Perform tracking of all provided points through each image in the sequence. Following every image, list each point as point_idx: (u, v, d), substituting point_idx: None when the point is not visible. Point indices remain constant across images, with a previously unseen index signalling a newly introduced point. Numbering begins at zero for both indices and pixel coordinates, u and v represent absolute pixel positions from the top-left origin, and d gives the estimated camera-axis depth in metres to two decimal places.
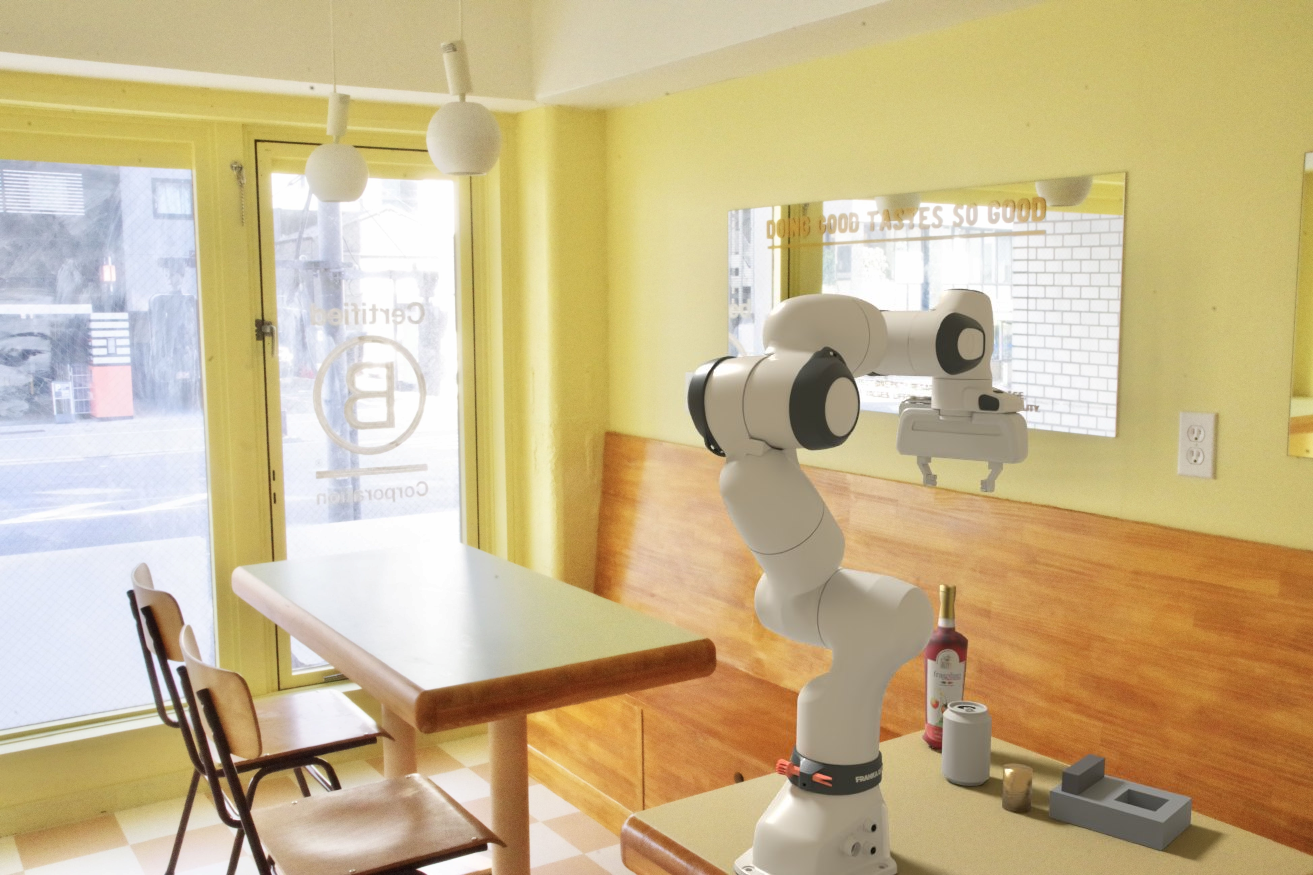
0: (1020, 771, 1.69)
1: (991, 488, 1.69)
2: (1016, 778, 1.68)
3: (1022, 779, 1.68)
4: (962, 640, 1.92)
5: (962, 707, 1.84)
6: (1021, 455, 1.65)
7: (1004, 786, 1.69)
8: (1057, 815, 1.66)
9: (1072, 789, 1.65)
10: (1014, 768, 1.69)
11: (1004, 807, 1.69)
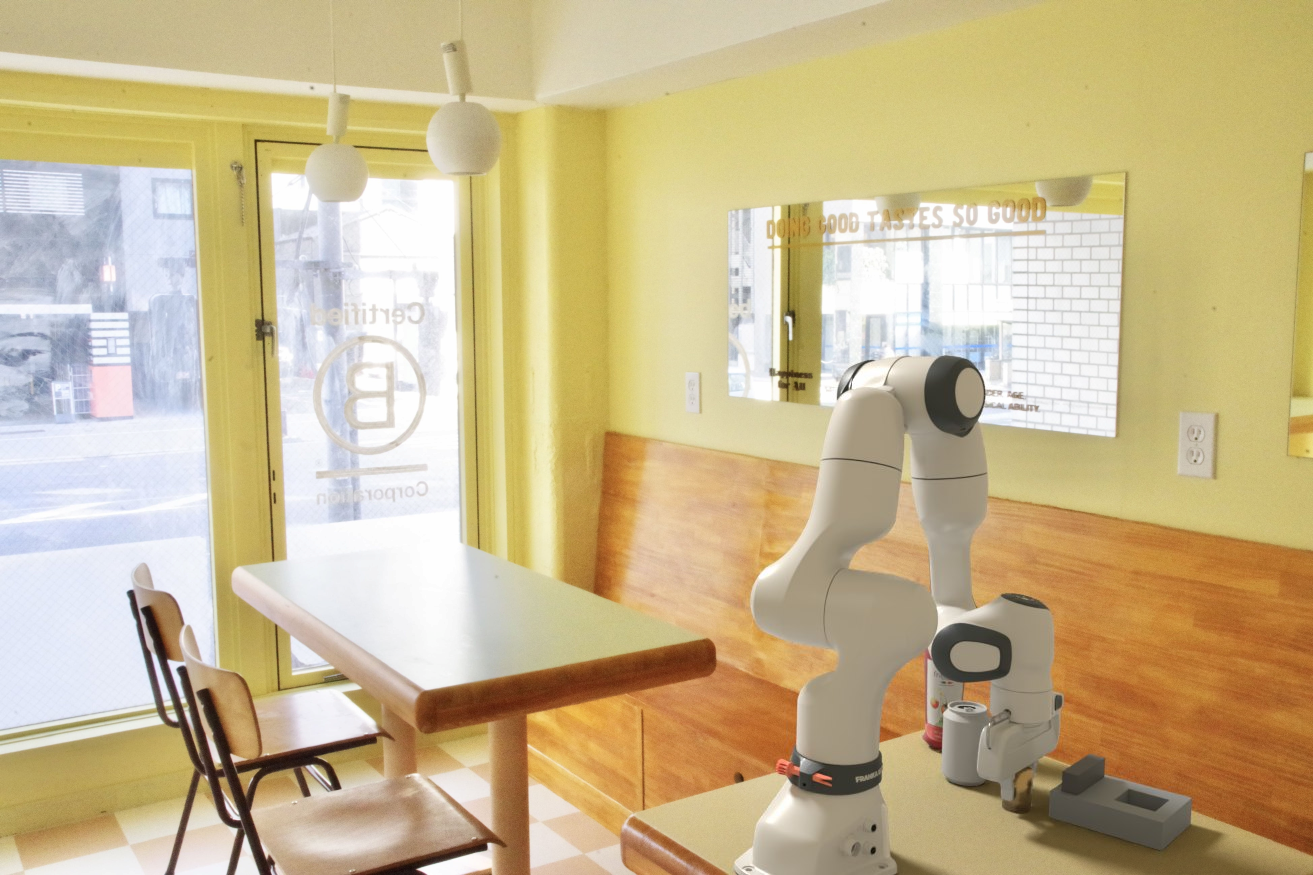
0: (1020, 771, 1.69)
1: None
2: (1016, 778, 1.68)
3: (1022, 779, 1.68)
4: None
5: (962, 707, 1.84)
6: None
7: None
8: (1057, 815, 1.66)
9: (1072, 789, 1.65)
10: None
11: (1004, 807, 1.69)
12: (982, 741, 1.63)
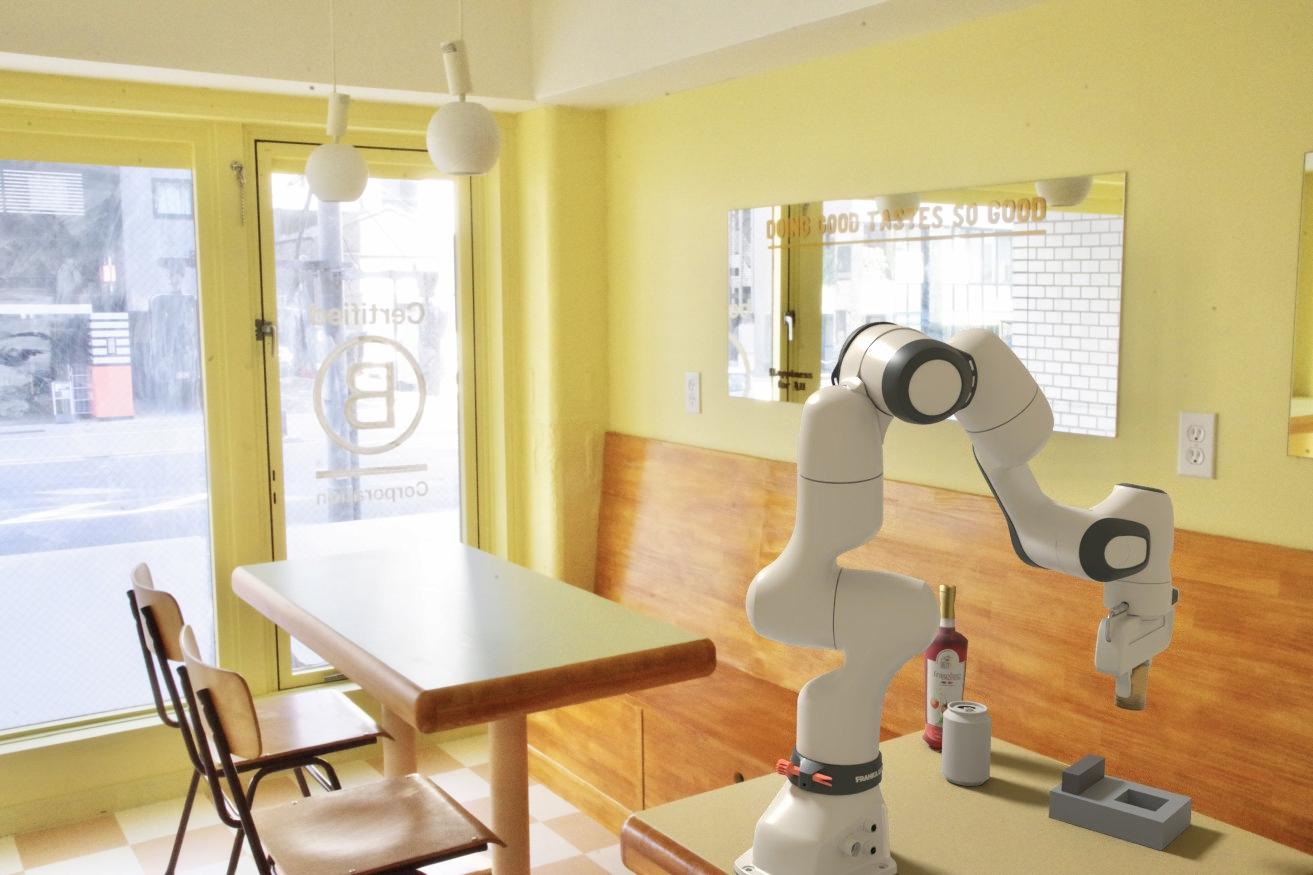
0: (1135, 667, 1.61)
1: None
2: (1131, 674, 1.61)
3: (1138, 674, 1.60)
4: (962, 640, 1.92)
5: (962, 707, 1.84)
6: None
7: None
8: (1057, 815, 1.66)
9: (1072, 789, 1.65)
10: None
11: (1118, 705, 1.62)
12: (1100, 634, 1.56)
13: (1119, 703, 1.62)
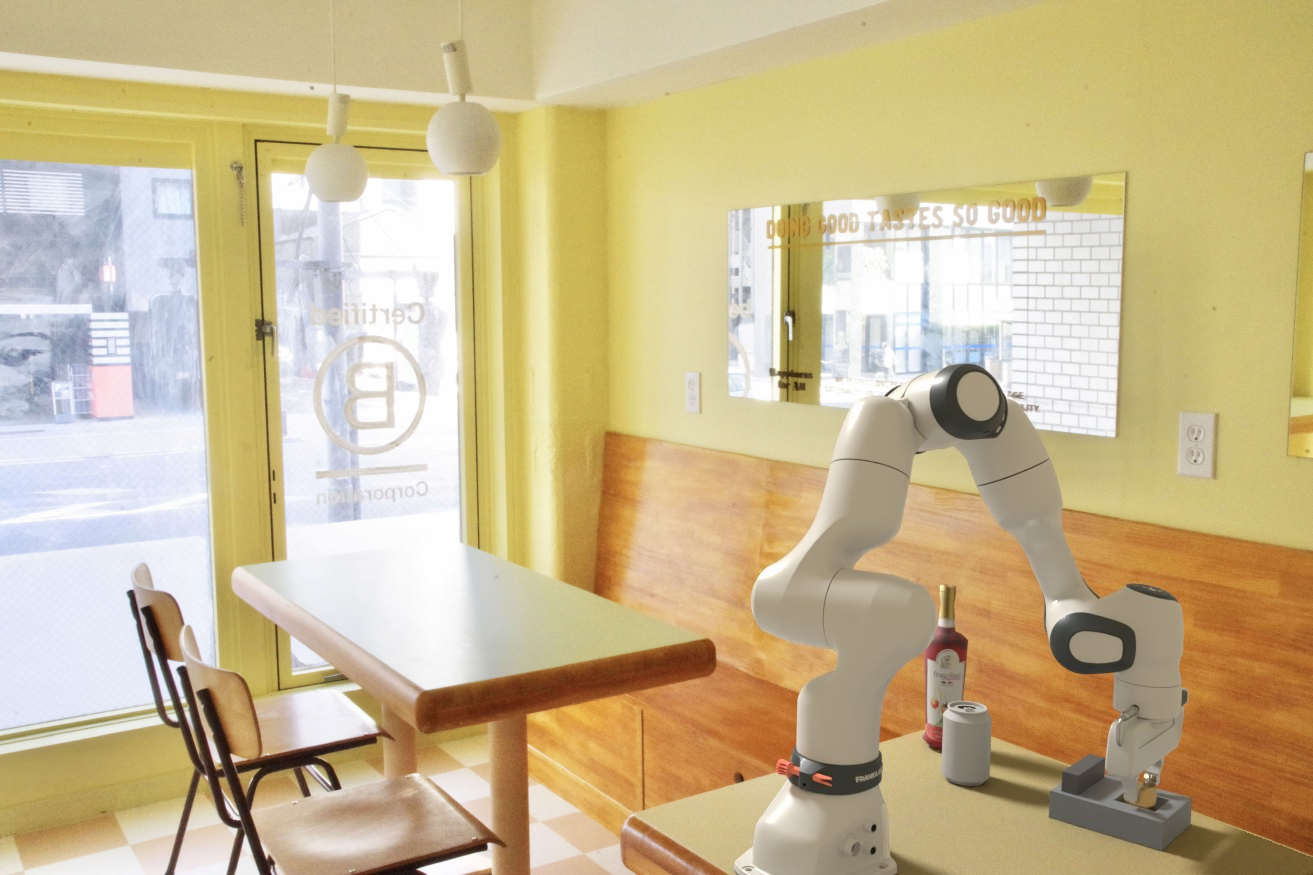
0: (1144, 789, 1.62)
1: None
2: (1140, 797, 1.61)
3: (1147, 798, 1.61)
4: (962, 640, 1.92)
5: (962, 707, 1.84)
6: None
7: None
8: (1057, 815, 1.66)
9: (1072, 789, 1.65)
10: None
11: None
12: (1111, 738, 1.56)
13: None
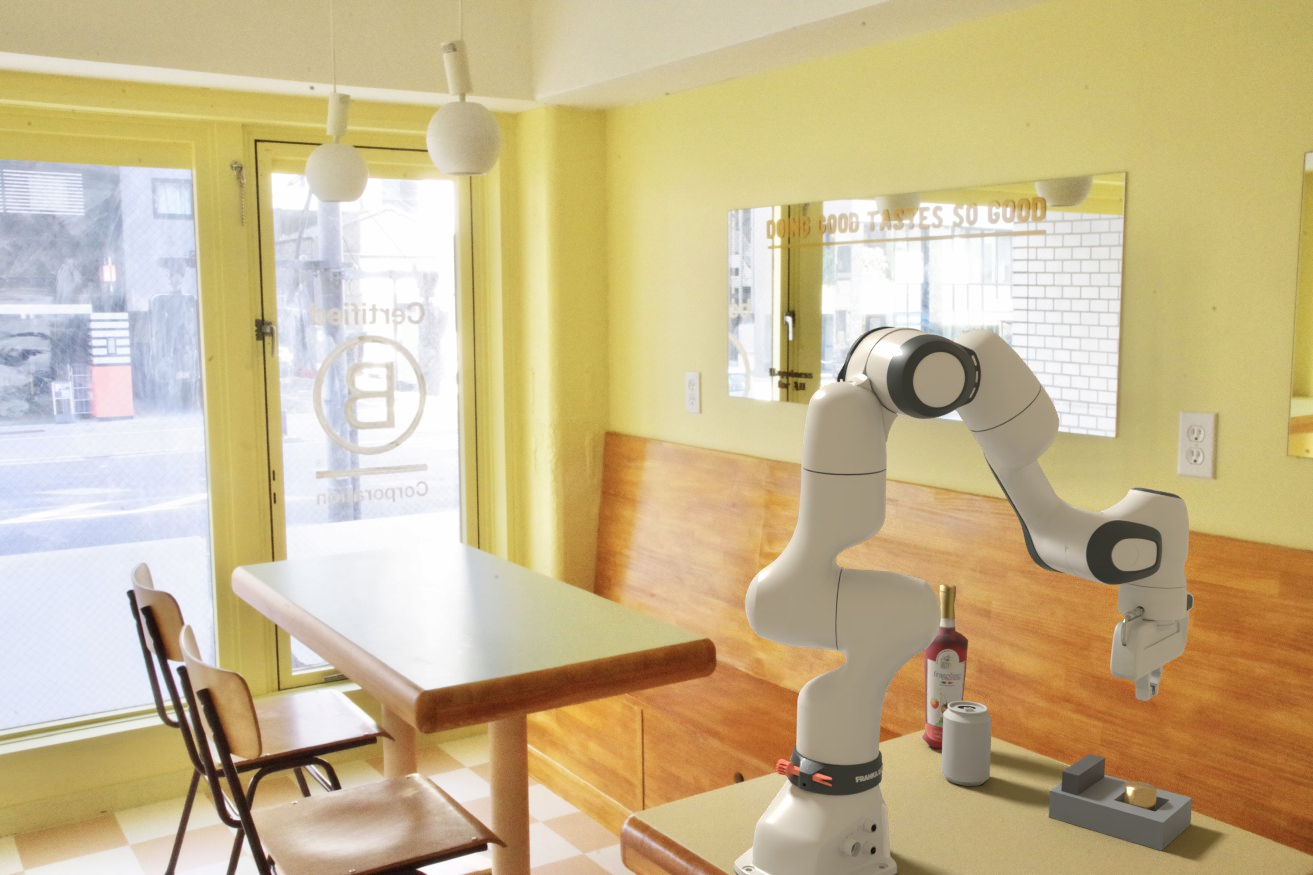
0: (1144, 789, 1.62)
1: None
2: (1140, 797, 1.61)
3: (1147, 797, 1.61)
4: (962, 640, 1.92)
5: (962, 707, 1.84)
6: None
7: None
8: (1057, 815, 1.66)
9: (1072, 789, 1.65)
10: (1137, 786, 1.63)
11: None
12: (1116, 638, 1.55)
13: None
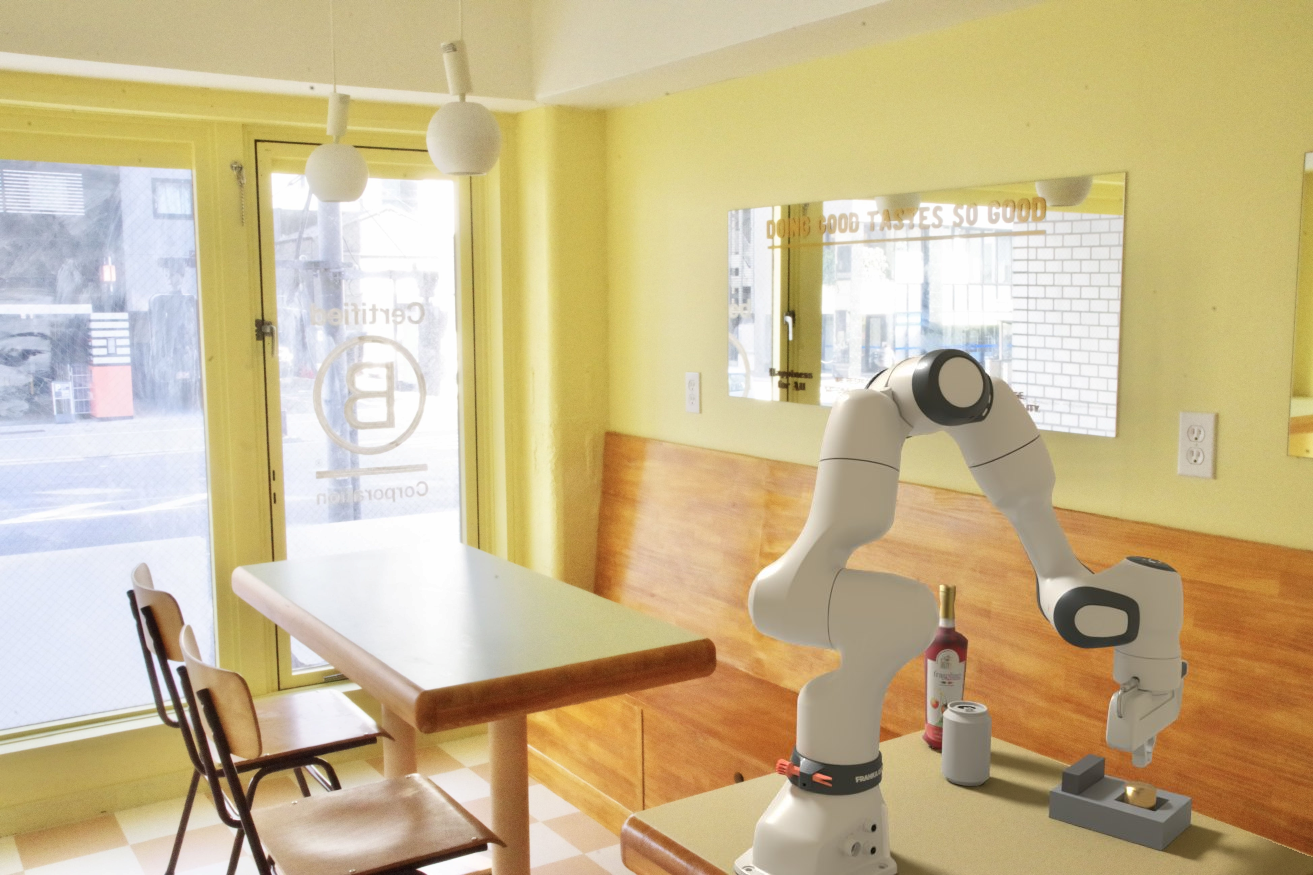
0: (1144, 789, 1.62)
1: None
2: (1140, 797, 1.61)
3: (1147, 797, 1.61)
4: (962, 640, 1.92)
5: (962, 707, 1.84)
6: None
7: None
8: (1057, 815, 1.66)
9: (1072, 789, 1.65)
10: (1137, 786, 1.63)
11: None
12: (1111, 709, 1.56)
13: None
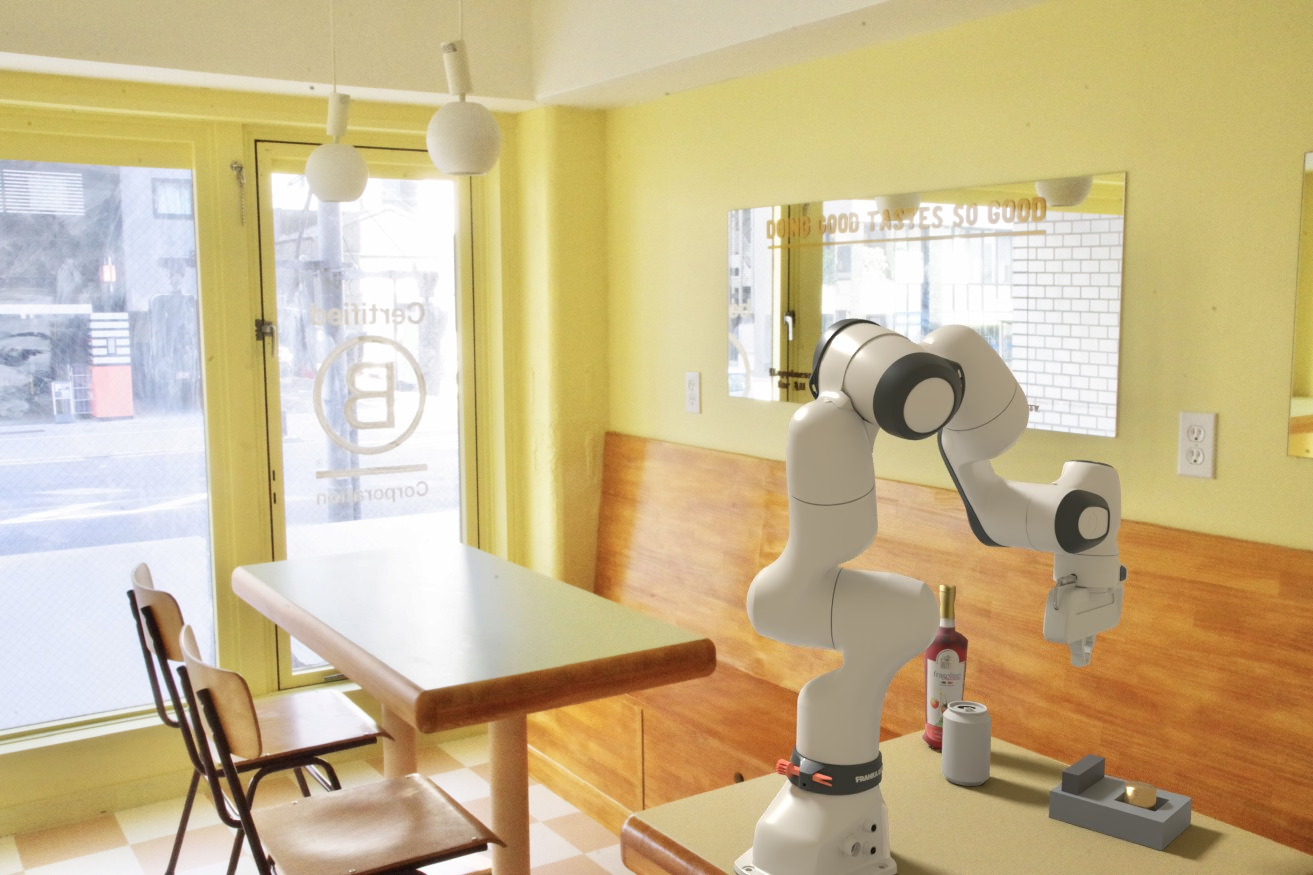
0: (1144, 789, 1.62)
1: None
2: (1140, 797, 1.61)
3: (1147, 797, 1.61)
4: (962, 640, 1.92)
5: (962, 707, 1.84)
6: None
7: None
8: (1057, 815, 1.66)
9: (1072, 789, 1.65)
10: (1137, 786, 1.63)
11: None
12: (1048, 602, 1.59)
13: None
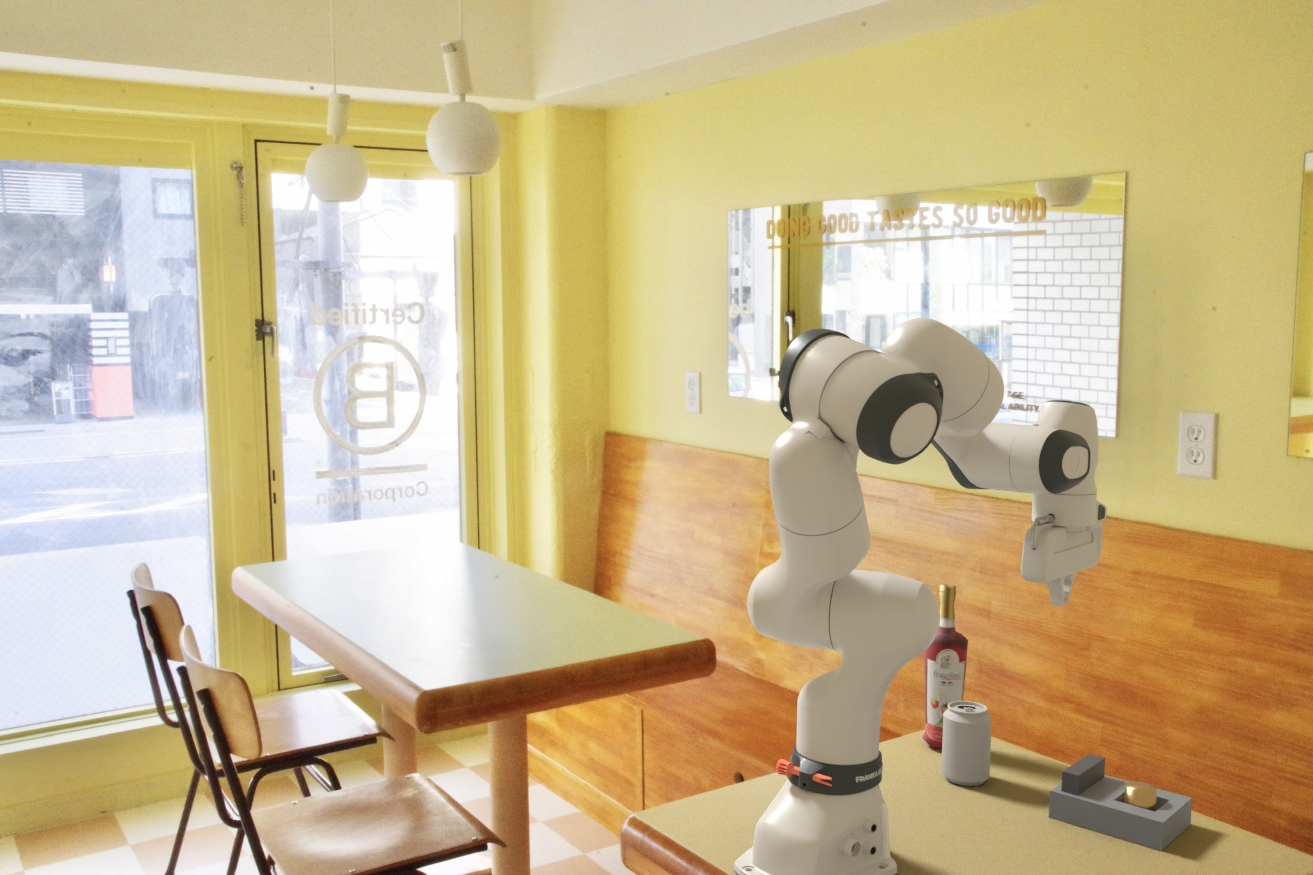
0: (1144, 789, 1.62)
1: None
2: (1140, 796, 1.61)
3: (1147, 797, 1.61)
4: (962, 640, 1.92)
5: (962, 707, 1.84)
6: None
7: None
8: (1057, 815, 1.66)
9: (1072, 789, 1.65)
10: (1137, 786, 1.63)
11: None
12: (1026, 543, 1.60)
13: None
